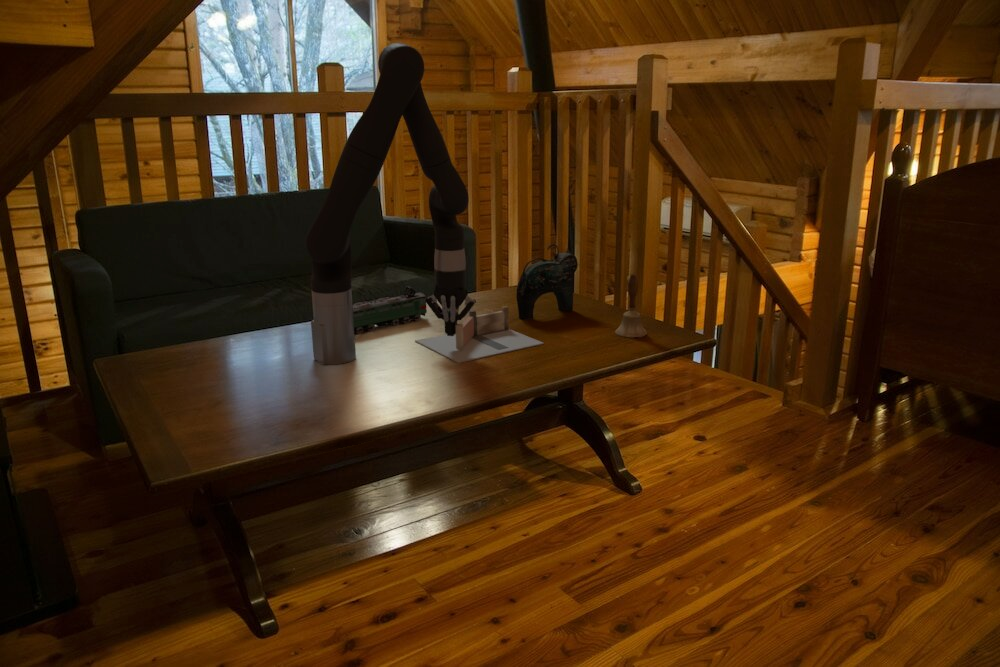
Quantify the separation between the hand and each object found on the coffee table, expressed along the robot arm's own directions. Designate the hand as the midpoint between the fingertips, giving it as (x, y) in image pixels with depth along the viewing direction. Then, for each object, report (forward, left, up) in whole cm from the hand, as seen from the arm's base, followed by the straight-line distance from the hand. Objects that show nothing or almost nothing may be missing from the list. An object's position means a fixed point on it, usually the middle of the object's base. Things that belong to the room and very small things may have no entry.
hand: (451, 335), depth 195 cm
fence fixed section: (+15, +5, -3) cm, 16 cm away
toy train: (-6, +28, -4) cm, 29 cm away
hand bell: (+45, -17, -4) cm, 48 cm away
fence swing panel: (+4, 0, -3) cm, 5 cm away
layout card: (+8, 0, -4) cm, 9 cm away
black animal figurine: (+39, +11, -4) cm, 41 cm away
